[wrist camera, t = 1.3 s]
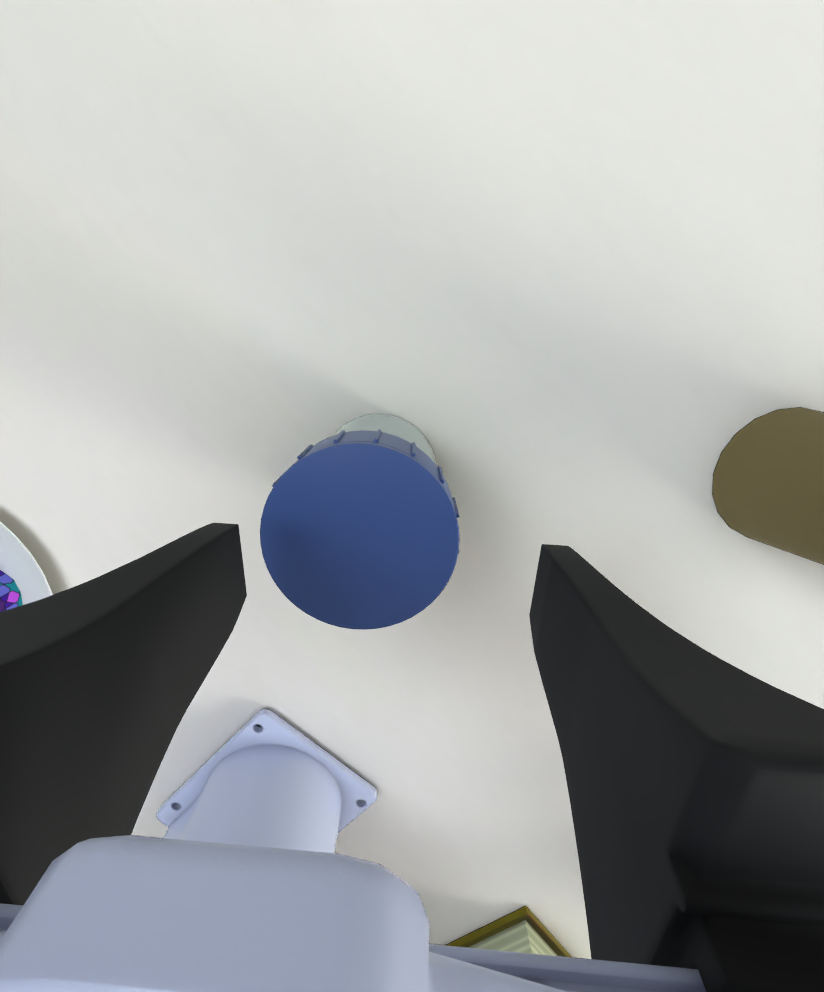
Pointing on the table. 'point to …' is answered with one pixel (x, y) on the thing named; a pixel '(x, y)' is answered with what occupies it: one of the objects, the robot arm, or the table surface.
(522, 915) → the hardcover book
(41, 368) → the table surface
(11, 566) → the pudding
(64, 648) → the robot arm
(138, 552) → the table surface
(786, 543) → the cork
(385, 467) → the lid
